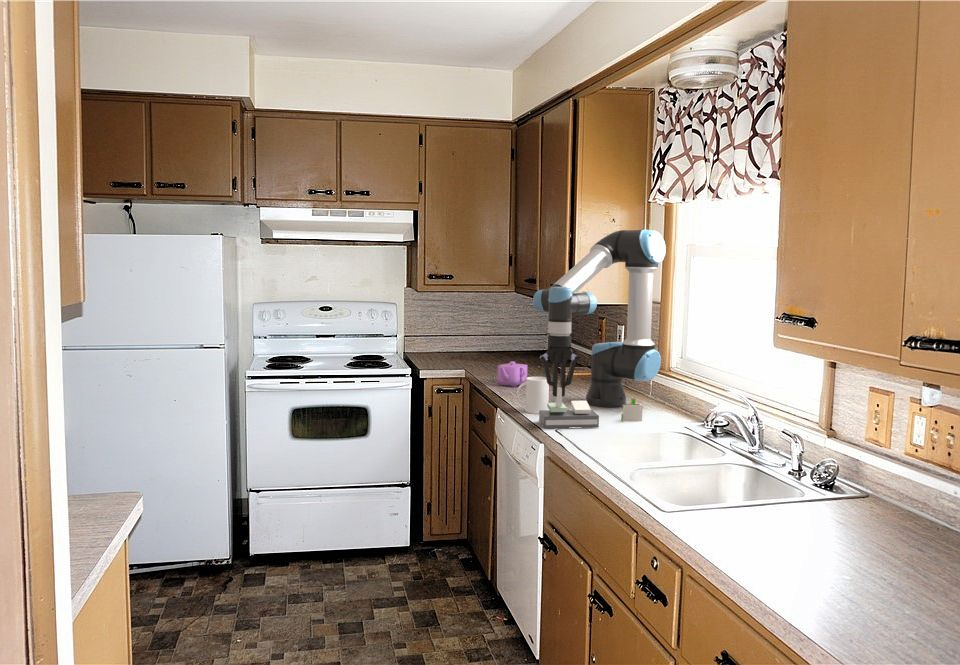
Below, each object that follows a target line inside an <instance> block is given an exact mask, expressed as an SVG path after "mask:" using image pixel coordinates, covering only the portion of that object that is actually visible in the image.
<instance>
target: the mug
mask: <svg viewBox="0 0 960 665" xmlns="http://www.w3.org/2000/svg"><path fill="white" fill-rule="evenodd" d="M524 386H525V400H522V399H521V398H520V396H519V391H520V389H521V388H522V387H524ZM549 388H550V385H549V384H548V383H547V380H546V376H527V378H526V382H524V383H522V384H521V385H518V387H517V390H516V396H517V399H518V401H519V402H520V403H521V404H523V405H525V412H526V413H527V414H534V415H539V410H549V409H548V407H547V403H550V402H549V400H550V399H549V398H550V396H549V394H550V393H549V392H550V391H549V390H550V389H549Z"/></svg>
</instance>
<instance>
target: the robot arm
mask: <svg viewBox="0 0 960 665" xmlns="http://www.w3.org/2000/svg"><path fill="white" fill-rule="evenodd" d="M666 249H667V248H666V243H665V240H664V237H663V236H662V235H661V233H659V232H658V231H656V230H653V229H652V230H651V229H633V230H632V229H629V230H626V229H621V230H615V231H614V232H611V233H609V234H608V235H606V236H605V237H603V238H601V239H599V240H598V241H597V242H596V243H595V244H593V245H592V247H590V249H589V252H588V253H587V254H586V255H585V256H584V257H583V258H582V259H581V260H580V261H578V262H577V263H576V264H575V265H574V266H573V267H572V268H571V269H569V270H568V271H567V272H566V273H564V274H563V275H562V276H561V277H560V278H559V279H557V281H556V282H554V283H553V284H552V285H551V286H550V287H549V288H548V289H545V288H544V289H539V290H537V291H536V292H535V293H534V295H533V299H532V303H533V306H534V308H535V309H536V310H537V311H538V312H544V313H548V321H547V322H548V323H547V324H548V326H547V327H548V328H547V329H548V330H547V333H548V336H547V349H546V351H545V353H544V354H542V355H540V356H539V359H540V361H541V362H542V366H543V371H544V374H545V376H544V377H546V380H547V383H548V384H549V386H551V387H552V396H553V397H554V398H555V402H554V403H555V406H556V407H562V403H563V400H562V399H563V398H565V396H566V387H567V386H570V385H571V384H572V379H573V376H574V374H575V368H576V364H577V363H578V361H579V359H580V356H579V355H577V354H575V353H574V352H573V349H572V336H571V334H572V322H573V321H572V319H573V316H579V315H581V316H586V315H589V314H593V313H594V312H595V310H596V308H597V306H598V305H597V304H598V301H597V297H596V296H595V294H594V293H592V292H590V291H580V290H581V289H582V288H584V286H585V285H587V283H589V282H590V281H591V280H592V279H593V278H594V277H596V275H598V274H599V273H600V272H601V271H602V270H603V269H607V268H609V267H611V266H612V265H613V264H617V263H624V268H625V269H626V270H627V271H628V297H627V323H626V339H625V340H623V341H608V342H599V343H594V344H593V345H592V346H591V354H590V357H591V359H590V371H591V372H590V385H589V387H588V390H587V392H586V396H585V401H587V403H588V405H589V406H595V407H603V408H604V407H606V408H608V407H609V408H612V407H614V408H615V407H617V408H618V407H623V406H622V404H627V396H626V392H625V388H624V385H623V379H626V380H634V381H636V382H650V381H652V380H654V378H655V377H656V376H657V375H658V373H659V371H660V369H661V364H662V357H661V355H660V352H659V351H658V350H656V343H655V342H654V341H653V340H652V321H653V320H652V318H653V316H652V315H653V296H654V294H653V293H654V291H653V290H654V273H655V271H657V270H658V269H659V264H660V263H661V262H663V261H664V259H665V256H666V252H667V251H666ZM548 358H549V359H548ZM569 359H570V360H571V361H570V364H569V366H568V367H569V368H568V371H567V372H566V370H567V369H566V368H567V362H568V361H569ZM548 360H550V361H551V362H552V377H551V373H550V368H549V364H548ZM559 364H560V370H559V368H558V367H559ZM558 370H559V372H558ZM558 373H560V374H558ZM566 373H567V376H566ZM558 375H560V376H558ZM558 377H559V378H560V380H559V385H558ZM562 397H563V398H562Z"/></svg>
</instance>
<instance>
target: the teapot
mask: <svg viewBox="0 0 960 665" xmlns="http://www.w3.org/2000/svg"><path fill="white" fill-rule="evenodd" d="M526 378H528V364H523V363H516V361H511V360H510V361H509V363H504V364H499V365H497V380H496V381H497V385H502V386H503V387H504V386H505V387H506V386H509V387H510V386H511V387H512V388H517V386H520V385H521V384H522V383H524V382H526Z"/></svg>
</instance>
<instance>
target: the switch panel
mask: <svg viewBox="0 0 960 665" xmlns="http://www.w3.org/2000/svg"><path fill="white" fill-rule="evenodd" d="M538 415H539V416H538V422H539V424H540V426H541V427H542V428H543V429H544V430H553V429H555V428H558V429H570V428H569V427H599V428H600V426H599V425H600V416H599V414H597V413H596V412H595V411H594V410H593V409H591V414H575V413H574V410H573V409H567V412H550V410H539V414H538Z"/></svg>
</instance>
